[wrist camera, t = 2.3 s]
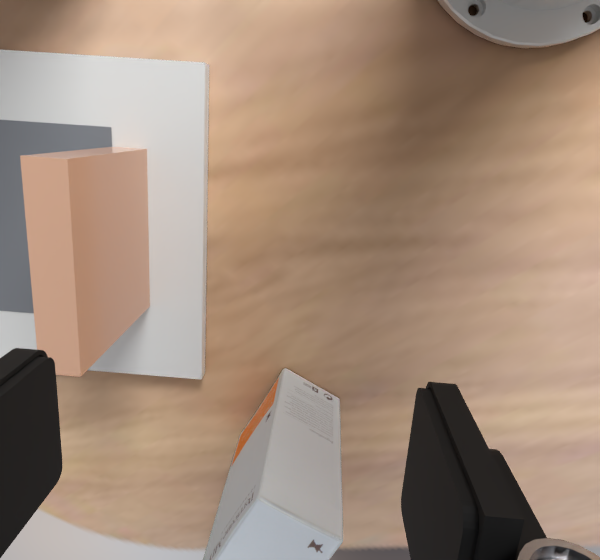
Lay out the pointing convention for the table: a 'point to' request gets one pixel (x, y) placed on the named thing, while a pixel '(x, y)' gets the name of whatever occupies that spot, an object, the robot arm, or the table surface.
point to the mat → (161, 189)
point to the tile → (86, 249)
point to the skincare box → (284, 479)
